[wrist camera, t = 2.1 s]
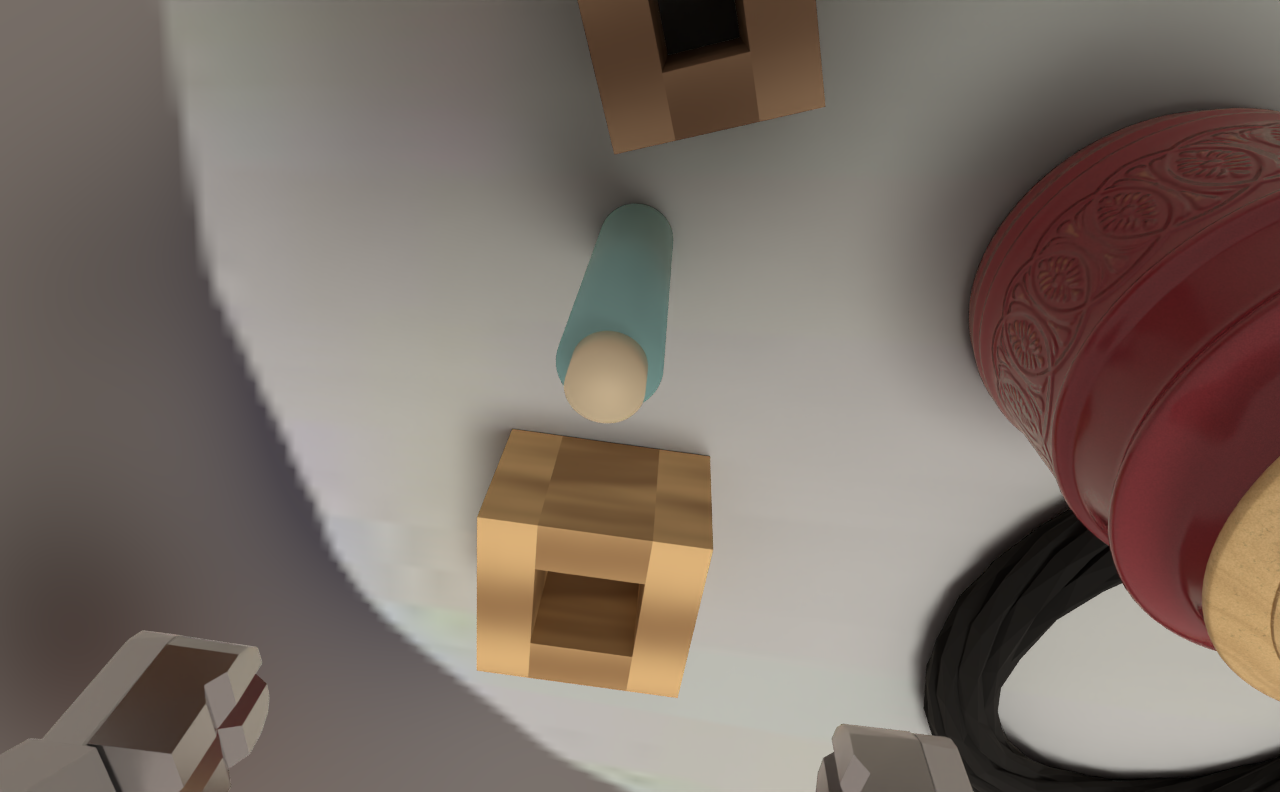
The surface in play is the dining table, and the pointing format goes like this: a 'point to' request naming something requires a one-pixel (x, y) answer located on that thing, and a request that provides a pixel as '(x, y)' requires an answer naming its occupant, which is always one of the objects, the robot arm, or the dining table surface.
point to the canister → (1156, 364)
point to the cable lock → (1002, 634)
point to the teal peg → (619, 318)
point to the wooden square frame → (592, 562)
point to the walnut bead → (701, 70)
